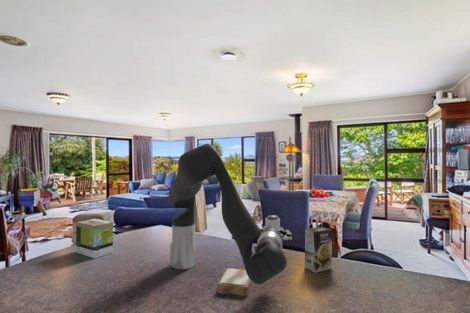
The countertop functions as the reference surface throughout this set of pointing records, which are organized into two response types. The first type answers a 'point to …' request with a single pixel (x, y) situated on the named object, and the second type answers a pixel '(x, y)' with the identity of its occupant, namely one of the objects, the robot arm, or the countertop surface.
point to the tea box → (94, 237)
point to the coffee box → (318, 249)
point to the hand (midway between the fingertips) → (272, 229)
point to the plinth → (234, 282)
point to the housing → (272, 222)
